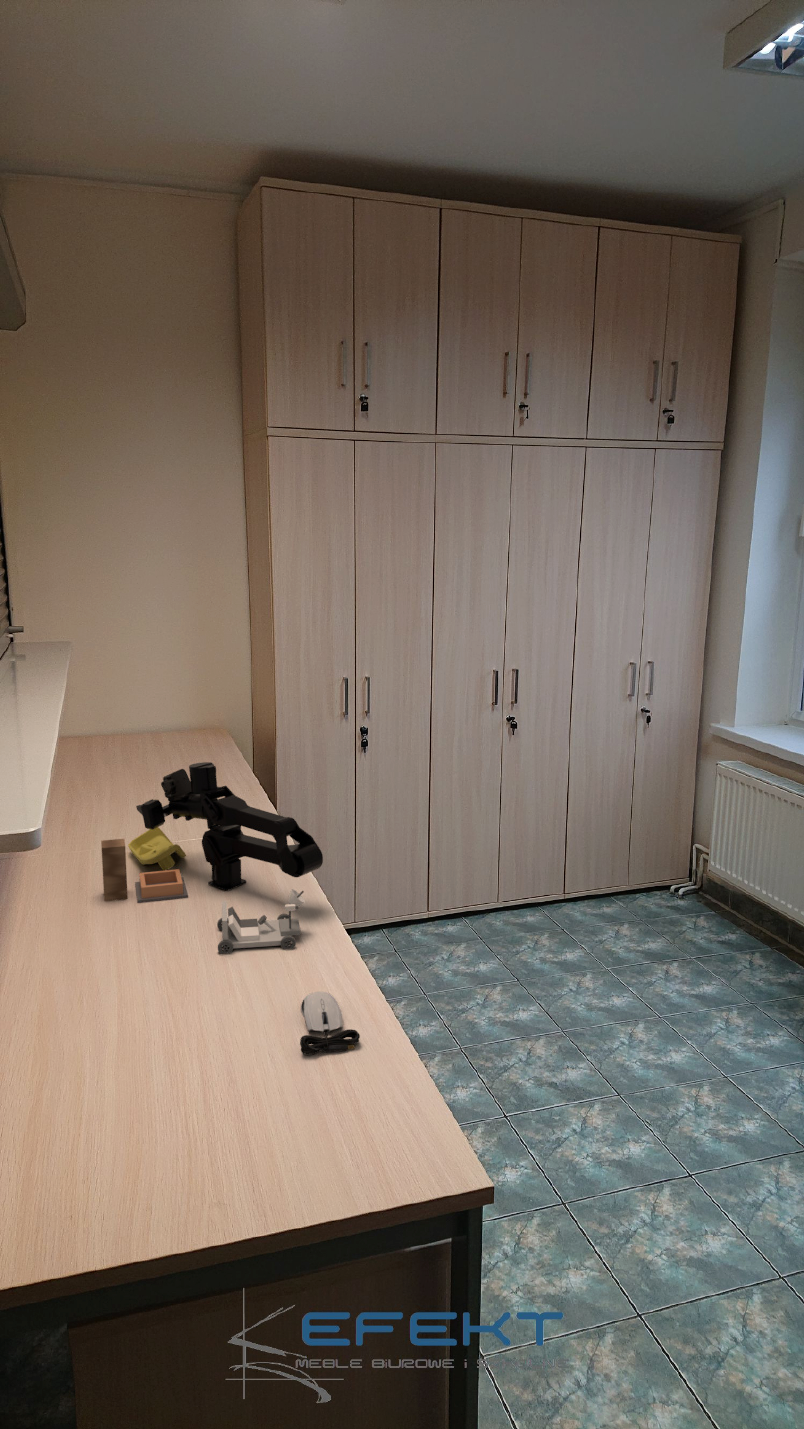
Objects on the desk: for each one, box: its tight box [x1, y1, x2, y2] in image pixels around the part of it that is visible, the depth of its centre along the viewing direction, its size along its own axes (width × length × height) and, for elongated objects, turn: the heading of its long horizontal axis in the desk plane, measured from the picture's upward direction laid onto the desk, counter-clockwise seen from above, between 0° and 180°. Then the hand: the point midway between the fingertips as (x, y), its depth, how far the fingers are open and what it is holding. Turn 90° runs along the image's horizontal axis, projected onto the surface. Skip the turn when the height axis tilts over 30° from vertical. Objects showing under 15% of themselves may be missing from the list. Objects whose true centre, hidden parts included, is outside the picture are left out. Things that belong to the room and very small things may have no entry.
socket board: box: [134, 868, 189, 904], centre depth 213 cm, size 11×11×3 cm
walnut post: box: [100, 838, 129, 902], centre depth 209 cm, size 5×5×12 cm
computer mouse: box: [299, 991, 361, 1055], centre depth 159 cm, size 10×18×4 cm, turn 15°
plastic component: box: [127, 826, 187, 871], centre depth 231 cm, size 20×7×10 cm
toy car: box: [216, 888, 306, 955], centre depth 190 cm, size 18×10×12 cm
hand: (151, 801), depth 229 cm, fingers open, 9 cm apart
